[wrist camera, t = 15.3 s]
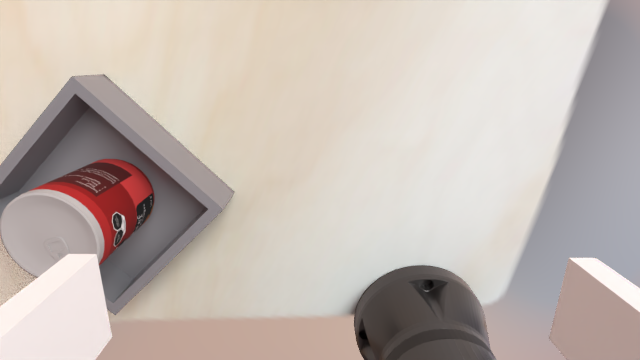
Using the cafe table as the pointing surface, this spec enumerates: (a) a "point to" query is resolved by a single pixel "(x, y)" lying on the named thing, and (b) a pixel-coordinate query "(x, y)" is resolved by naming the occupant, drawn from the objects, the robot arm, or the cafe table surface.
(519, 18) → the cafe table surface
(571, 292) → the robot arm
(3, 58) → the cafe table surface
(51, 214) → the canned food
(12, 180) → the box
